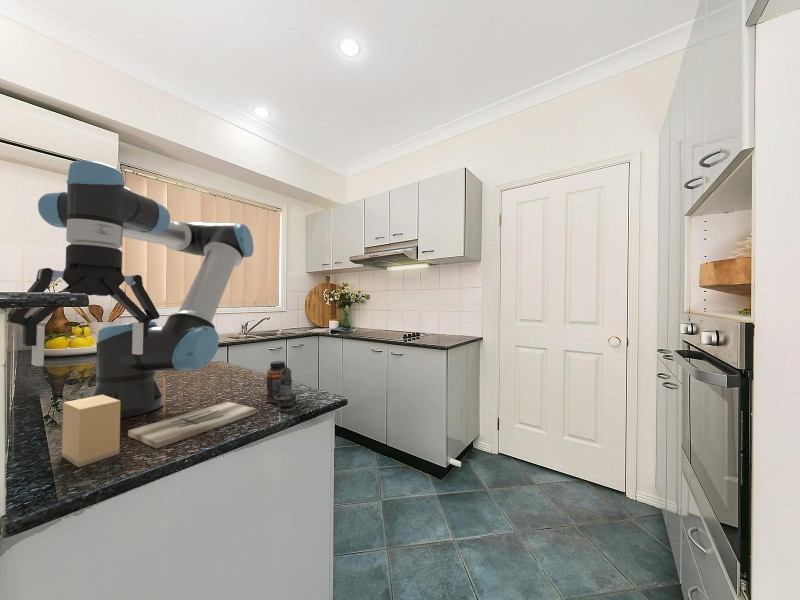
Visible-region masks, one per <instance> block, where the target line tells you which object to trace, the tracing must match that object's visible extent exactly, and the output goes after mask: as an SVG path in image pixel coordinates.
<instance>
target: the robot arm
mask: <svg viewBox="0 0 800 600" xmlns="http://www.w3.org/2000/svg"><path fill="white" fill-rule="evenodd" d="M66 180H67V181H66V184H67V192H66V191H60V192H49V193H46V194H43V195H41V196H40V198H39V200H38V202H37V211H38V213H39V216H40V218H42V219H43V220H44V221H45V222H46V223H47V224H48V225H50V226H52V227H55V228H61V229H66V235H65V236H66V239H65V240H66V242H67V243H69V244H68V245H67V246H65V267H64V269H63V270H62V271H61V270H55V269H52V268H50V267H45V268H44V267H43V268H39V269H38V270H37V274H36V279H35V281H34V283H33V284H32V285H30V288H28V290H27V291H26V292H43V293H45V291H46V290H47V288H49V286H50V284H51V283H53V282H56V281H58V279H59V278H61V279H62V280H63V281H64V282H65V284H67V286H66V287H65V288H63V289H62V290H60V292H70V293H85V294H87V295H86V296H97V297H108V296H110V297H111V298H112V299H114V300H115V301H116V302H117V303H118V304H120V305H121V306H122V308H123V309H125V311H127V312H128V313H129V314H130V315H131V316H132V317H133V318H134V319H135V320H136V321H137V322H131V323H123V324H122V323H119V324H113V325H107V326H106V325H105V326H103V327H101V328H100V330H98V332H97V341H96V384H95V388H94V390H93V392H92V395H91V396H90V397H93V396H98V395H105V396H108V397H111V398H114V399H117V400H120V419H124V418H125V419H126V418H131V417H134V416H135V417H136V416H139V415H143V414H146V413H149V412H154V411H155V410H157V409H159V408H161V407H163V403H164V395H163V393H162V391H161V388H160V386H159V384H158V381H157V379H156V371H160V372H161V371H167V372H168V371H169V372H170V371H176V372H177V371H180V372H187V371H196V370H200V369H203V368H205V367H207V366H208V365H209V364H210V363H211V362H212V361H213V359H214V358H215V356H216V354H217V352H218V349H219V342H220V340H219V333H218V332H217V331H216V327H215V326H216V325H214V323H213V319H214V318H215V315H216V312H217V310H218V308H219V305H220V303H221V300H222V297H223V295H224V293H225V290H226V288H227V285H228V283H229V281H230V278H231V275H232V273H233V270H234V268H236V267H238V266H240V265H241V263H242V262H243V260H244V259H243V258H246V259H248V258H250V257H252V255H253V253H254V241H253V240H254V239H253V236H252V233H251V231H250V229H249V227H248V226H247V225H246V224H244V223H238V222H237V223H236V222H233V223H225V222H224V223H223V222H222V223H221V222H183V221H180V220H171V215H170V212H169V210H168V209H167V208H166V207H165V206H164V205H163V204H161V203H159V202H158V201H156V200H154V199H153V198H149V197H146V196H144V195H143V194H139V193H138V192H136V191H134V190H131V189H130V188H128V187H126V186H125V185H126V182H125V176H124V174H123V173H122V172H121V170H119V169H118V168H116V167H114V166H112V165H109V164H106V163H104V162H103V163H102V162H99V161H92V160H82V159H81V160H80V159H79V160H74V161H72V162H71V163H70V164H69V168H68V173H67V179H66ZM123 238H129V239H133V240H138V241H143V242H148V243H153V244H157V245H163V246H165V247H166V248H167V249H169V250H172V251H178V252H181V253H186V254H189V255H194V256H201V257H204V259H203V261H202V263H201V265H200V267H199V269H198V272H196V273H197V274H196V275H195V277H194V280H193V281H192V283H191V286H190V288H189V290H188V292H187V294H186V295H185V298H184V300H183V302H182V304H181V305H180V308H179V310H178V312H175V313H172V314H170V315H168V317H167V320H166V321H165V324H164V325H163V326H158V324H157V322H156V321H153V320H158V319H160V316H161V315H160V313H159V311H158V310H157V308H156V306H155V304H154V303H153V301H152V299H151V298H150V296H149V294H148V292H147V291H146V289H145V287H144V284H143V276H142V275H140V274H134V275H124V274H123V271H122V269H123V251H122V250H121V248H122V247H123ZM124 282H125V283H126V285H127V286H129V287H130V288H131V291H132V293H133V295H134V296H135V297H136V300H137V301H138V303H139V305H140V307H141V308H142V309H141V308H140V307H139V306H138V305H137V304H136V303H135V302H134V301H133V300H132V299H131V298H130V297H129V296H128V295H127V294H126V293H125V291H124V290H122V288H121V287H120V286H121V285H122V284H123V283H124ZM59 308H60V307H44V308H41V307H40V308H38V309H37V310H35V311H34V312H33V313H31V314H29V316H27V317H25V316H26V315H27V314H28V312H29V311H30V310H31V309H32V307H31V308H22V309H13V308H12V309H11V310H10V311H9V312H8V314H7V315H8V320H7V323H9V324H15V325H20V326H21V327H22V344H23V346H25V347H31V366H34V367H41V366H44V364H45V363H44V362H45V361H44V360H45V359H44V358H45V328H46V327H45V326H42V325H39V324H40V323H41V322H43V321H44V320H45V319H46V318H48V317H49V316H50V315H51V314H53V313H54V312H56V310H58V309H59Z"/></svg>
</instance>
